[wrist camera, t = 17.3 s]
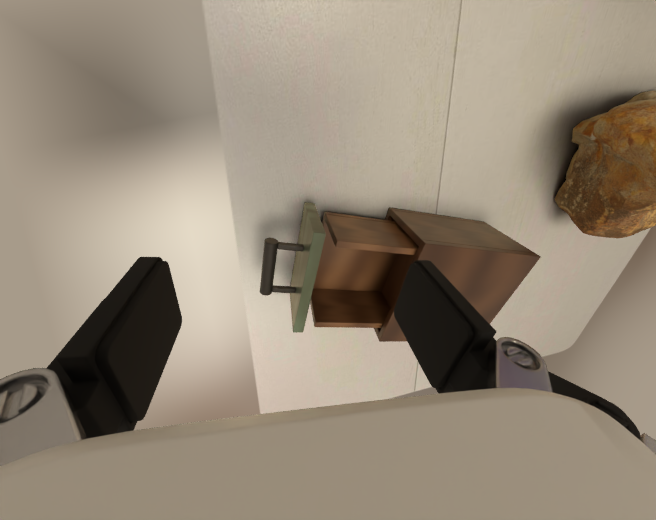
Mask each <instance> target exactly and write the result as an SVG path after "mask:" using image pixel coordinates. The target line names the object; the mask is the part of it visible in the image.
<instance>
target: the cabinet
mask: <svg viewBox="0 0 656 520" xmlns="http://www.w3.org/2000/svg"><path fill="white" fill-rule="evenodd" d="M385 220H389V221H395V222H396V223H397V224H398V225H399V226H400V227H401V228H402V229H403V230H404V231H405V232H406V233H407V234H408V235H409V236H410V237H411V238H412V239H413V241H414V242H415V243H416V244H417V245H418V246H419V247H418V249H417V252H416V254H415V256H414V258H413V260H412V262H411V264H412V263H414V261H416V260H429V261H431V262H432V263H433V264H434V265H435V266H436V267H437V268H438V269H439V271H440V272H441V273H442V274H443V275H444V276H445V277H446V278H447V279H448V280H449V281H450V282H451V283H452V284H453V286H454V287H455V288H456V289H457V290H458V291H459V292H460V293H461V294H462V295H463V296H464V297H465V298H466V299H467V301H468V302H469V303H470V304H471V305H472V306H473V307H474V308H475V309H476V310H477V311H478V312H479V313H480V314H481V316H482V317H483V318H484V319H485V320H486V321H487V322H488V323H489V324H490V323H491V322H492V320H493V319H494V318H495V316H496V315H497V314H498V312H499V311H500V310H501V308H502V307H503V306H504V304H505V303H506V302H507V300H508V299H509V298H510V297H511V295H512V294H513V293H514V291H515V290H516V289H517V287H518V286H519V285H520V283H521V282H522V281H523V279H524V278H525V277H526V276H527V274H528V273H529V272H530V270H531V269H532V268H533V266H534V265H535V264H536V262H537V261H538V260H539V258H540V256H539V255H537V254H536V253H534V252H532V251H531V250H529V249H527V248H526V247H524V246H523V245H521V244H519V243H518V242H516V241H514V240H513V239H511V238H510V237H508V236H506V235H505V234H503V233H501V232H500V231H498V230H497V229H495V228H493V227H492V226H490V225H488V224H487V223H485V222H482V221H475V220H468V219H462V218H455V217H449V216H442V215H435V214H429V213H422V212H416V211H409V210H403V209H396V208H389V210H388V213H387V215H386V218H385ZM407 272H408V271H407ZM406 275H407V273H406ZM405 277H406V276H405ZM404 280H405V278H404ZM404 280H403V282H402V284H401V286H400V289H399V291H398V293H397V295H396V297H395V300H394V302H393V304H392V306H391V308H390V311H389V313H388V315H387V317H386V319H385V321H384V324H383V326H382V328H374V329H375V332H376V334H377V336H378V339H379V341H407V340H406V338H405V336H404V334H403V332H402V330H401V328H400V326H399V325H398V323H397V321H396V319H395V317H394V308H395V305H396V303H397V300H398V297H399V294H400V291H401V289H402V286H403V283H404Z"/></svg>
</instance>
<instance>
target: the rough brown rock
mask: <svg viewBox="0 0 656 520" xmlns="http://www.w3.org/2000/svg"><path fill="white" fill-rule="evenodd" d="M572 142H574V143H576V144H578V145H579V149H578V150H577V151H576V153H575V154H574V156H573V158H572V160H571V163H570V166H569V168H568V171H567V174H566V181H565V182H564V184H563V185H562V187H561V188H560V189H559V190H558V193H557V195H556V197H555V201H556V203H557V205H558V206H559V207H560V208H561V209H562V210H564V211H565V212H566V213H567V214H568V215H569V216H570V218H571V220H572V221H573V222H574V223H575V224H576V226H577V227H578V228H579V229H580V230H581V231H582V232H583V233H585V234H588V235H593V236H600V237H609V238H623V237H628V236H631V235H634V234H635V233H638V232H640V231H642V230H645V229H648V228H650V227H653V226H655V225H656V91H647V92H642V93H640V94H638V95H636V96H634V97H633V98H632V99H630V100H629V101H627V102H626V103H625V104H622V105H619V106H617V107H614V108H612V109H610V111H609V112H607V113H603V114H599V115H596V116H594V117H591V118H589V119H586V120H584V121H582V122H580V123H579V124H578V125H577V126H575V127H574V129H573V137H572Z"/></svg>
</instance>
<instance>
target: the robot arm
mask: <svg viewBox="0 0 656 520" xmlns="http://www.w3.org/2000/svg"><path fill="white" fill-rule="evenodd" d="M394 317H395V319H396V321H397V323H398V325H399V326H400V328H401V330H402V332H403V334H404V336H405V338H406V340H407V341H408V343H409V345H410V347H411V349H412V351H413V353H414V354H415V356H416V358H417V360H418V362H419V364H420V366H421V367H422V369H423V371H424V373H425V375H426V377H427V379H428V380H429V382H430V384H431V386H432V387H434V388H436V390H437V392H438V393H439V394H431V395H423V396H413V397H404V398H395V399H386V400H377V401H368V402H360V403H351V404H342V405H334V406H325V407H317V408H308V409H300V410H291V411H283V412H274V413H266V414H258V415H250V416H242V417H233V418H225V419H217V420H209V421H200V422H193V423H186V424H179V425H171V426H163V427H156V428H149V429H142V430H135V431H133V430H134V428H135V425H136V423H137V421H140V420H142V419H143V418H144V417H145V414H146V412H147V410H148V407H149V405H150V402H151V400H152V397H153V395H154V392H155V390H156V387H157V385H158V382H159V380H160V377H161V375H162V372H163V370H164V367H165V365H166V362H167V360H168V357H169V355H170V352H171V350H172V347H173V345H174V342H175V340H176V337H177V335H178V332H179V330H180V327H181V323H182V316H181V312H180V308H179V304H178V300H177V297H176V292H175V288H174V284H173V280H172V277H171V273H170V268H169V265H168V263H167V262H166V261H162V259H161V258H160V257H140V258H138V259H137V261H136V262H135V263H134V264H133V266H132V267H131V268H130V269H129V271H128V272H127V273H126V274H125V275H124V277H123V278H122V279H121V280H120V282H119V283H118V284H117V285H116V286H115V288H114V289H113V290H112V291H111V292H110V294H109V295H108V296H107V297H106V298H105V299H104V300H103V301H102V302H101V303H100V304H99V306H98V307H97V308H96V309H95V310H94V312H93V313H92V314H91V315H90V316H89V318H88V319H87V320H86V321H85V323H84V324H83V325H82V326H81V327H80V329H79V330H78V331H77V332H76V333H75V335H74V336H73V337H72V338H71V339H70V341H69V342H68V343H67V344H66V345H65V347H64V348H63V349H62V350H61V352H60V353H59V354H58V355H57V356H56V358H55V359H54V360H53V361H52V362H51V364H50V365H49V366H48V367H47V368H33V369H28V370H24V371H20V372H17V373H14V374H11V375H9V376H6V377H4V378H2V379H0V520H656V440H654V439H653V438H651V437H650V436H648V435H647V434H645V433H644V434H642V435H640V433H639V431H638V429H637V427H636V426H635V424H634V423H633V422H632V421H631V420H630V418H629V417H628V416H627V415H626V414H625V413H624V412H623V411H622V410H621V409H620V408H619V407H617V406H616V405H614V404H613V403H611V402H609V401H607V400H605V399H603V398H601V397H599V396H597V395H595V394H593V393H591V392H589V391H587V390H585V389H583V388H581V387H579V386H577V385H575V384H573V383H571V382H569V381H567V380H565V379H563V378H561V377H558V376H556V375H554V374H552V373H550V372H548V370H547V366H546V363H545V361H544V359H543V358H542V357H541V356H540V354H539V353H537V352H536V351H535V350H534V349H533V348H531V347H530V346H529V345H527V344H525V343H523V342H521V341H519V340H517V339H514V338H509V337H502V338H499V339H498V340H497V341H496V340H495V339H494V338H493V336H494V335H495V333H496V331H495V329H494V328H493V327H492V326H491V325H490V324H489V323H488V322H487V321H486V320H485V319H484V318H483V317H482V316H481V314H480V313H479V312H478V311H477V310H476V309H475V308H474V307H473V306H472V305H471V304H470V303H469V302H468V301H467V299H466V298H465V297H464V296H463V295H462V294H461V293H460V292H459V291H458V290H457V289H456V288H455V287H454V286H453V284H452V283H451V282H450V281H449V280H448V279H447V278H446V277H445V276H444V275H443V274H442V273H441V272H440V271H439V269H438V268H437V267H436V266H435V265H434V264H433V263H432V262H431V261H429V260H416V261H414V263H412V264H411V265H410V266H409V269H408V272H407V275H406V277H405V280H404V283H403V286H402V289H401V291H400V294H399V297H398V300H397V303H396V305H395V308H394Z"/></svg>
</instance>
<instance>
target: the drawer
mask: <svg viewBox="0 0 656 520" xmlns="http://www.w3.org/2000/svg"><path fill="white" fill-rule="evenodd" d="M418 247H419V246H418V245H417V244H416V243H415V242H414V241H413V239H412V238H411V237H410V236H409V235H408V234H407V233H406V232H405V231H404V230H403V229H402V228H401V227H400V226H399V225H398V224H397V223H396V222H395V221H389V220H382V219H375V218H367V217H360V216H353V215H345V214H338V213H331V212H324V217H323V222H321V219H320V217H319V214H318V211H317V209H316V206H315V204H314V203H307V202H305V204H304V210H303V216H302V221H301V227H300V233H299V239H298V244H293V243H283V242H278V240H276V239H274V238H267V239H265V243H264V253H263V264H262V274H261V285H260V293H261V294H262V295H270V294H271V293H272V292H281V293H290V301H291V312H292V324H293V332H303V330H304V326H305V321H306V317H307V313H308V309H309V304H311V309H312V315H313V321H314V326H315V327H360V328H382V326H383V324H384V321H385V319H386V317H387V315H388V313H389V311H390V308H391V306H392V304H393V302H394V300H395V297H396V295H397V293H398V291H399V289H400V286H401V284H402V282H403V280H404V278H405V276H406V273H407V271H408V269H409V266H410V265H411V262H412V260H413V258H414V256H415V254H416V252H417V249H418ZM277 248H278V249H281V250H292V251H296V256H295V262H294V268H293V273H292V279H291V285H290V286H273V279H274V271H275V263H276V255H277Z"/></svg>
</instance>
